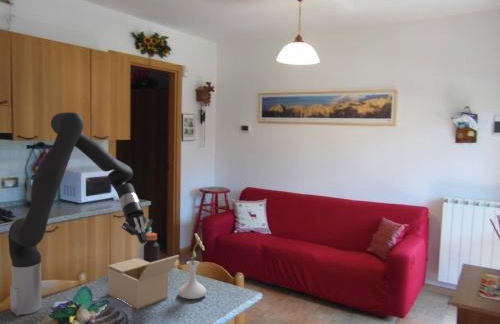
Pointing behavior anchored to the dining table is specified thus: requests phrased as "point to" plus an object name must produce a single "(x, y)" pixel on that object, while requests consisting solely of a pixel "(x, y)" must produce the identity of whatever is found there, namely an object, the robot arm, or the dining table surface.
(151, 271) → the front flap
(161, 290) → the carton
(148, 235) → the vinegar
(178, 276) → the dining table surface
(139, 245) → the milk bottle
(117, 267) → the back flap
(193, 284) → the flower in vase
